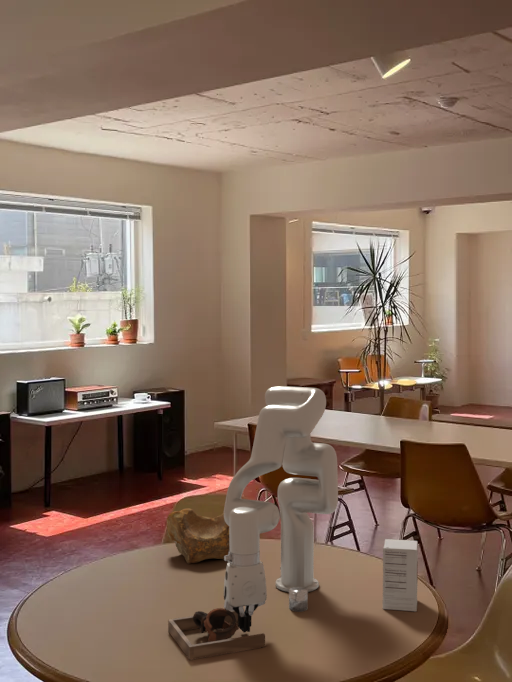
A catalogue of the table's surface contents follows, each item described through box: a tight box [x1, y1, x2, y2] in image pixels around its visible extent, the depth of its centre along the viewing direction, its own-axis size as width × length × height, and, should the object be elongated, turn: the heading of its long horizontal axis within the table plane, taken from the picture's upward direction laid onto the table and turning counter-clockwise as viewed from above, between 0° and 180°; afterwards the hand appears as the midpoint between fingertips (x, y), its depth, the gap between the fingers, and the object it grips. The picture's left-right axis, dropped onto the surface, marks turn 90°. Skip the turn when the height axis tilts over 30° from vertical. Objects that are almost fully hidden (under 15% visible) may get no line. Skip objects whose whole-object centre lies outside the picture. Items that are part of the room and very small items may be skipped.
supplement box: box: [382, 538, 419, 612], centre depth 230 cm, size 10×9×17 cm
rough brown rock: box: [166, 507, 230, 565], centre depth 270 cm, size 23×17×15 cm
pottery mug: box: [192, 607, 240, 642], centre depth 208 cm, size 12×10×8 cm
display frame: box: [167, 610, 266, 661], centre depth 207 cm, size 18×19×3 cm
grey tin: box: [288, 587, 309, 613], centre depth 228 cm, size 5×5×5 cm
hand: (244, 629), depth 210 cm, fingers closed
